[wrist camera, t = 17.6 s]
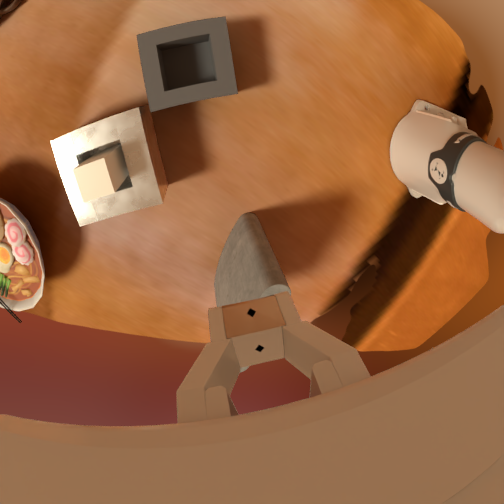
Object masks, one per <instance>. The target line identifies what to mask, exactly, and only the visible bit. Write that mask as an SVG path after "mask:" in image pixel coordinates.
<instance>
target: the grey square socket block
mask: <svg viewBox="0 0 504 504" xmlns="http://www.w3.org/2000/svg"><path fill="white" fill-rule="evenodd" d="M137 41H138V47H139V54H140V60H141V66H142V71H143V77H144V82H145V87H146V93H147V98H148V103H149V108H150V112H154V111H157V110H161V109H165V108H169V107H173V106H177V105H181V104H186V103H190V102H195V101H200V100H205V99H210V98H215V97H221V96H227V95H233V94H238V92H237V85H236V79H235V73H234V66H233V60H232V54H231V47H230V41H229V35H228V29H227V23H226V17H218V18H211V19H204V20H198V21H193V22H187V23H182V24H178V25H173V26H169V27H165V28H161V29H157V30H153V31H149V32H146V33H142V34H139V35H137Z"/></svg>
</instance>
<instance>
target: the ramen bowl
mask: <svg viewBox="0 0 504 504" xmlns="http://www.w3.org/2000/svg"><path fill="white" fill-rule="evenodd" d="M44 279H45V268H44V263H43V259H42V254H41V250H40V245H39V241H38V239H37V237H36V235H35V233H34V231H33V229H32V227H31V225H30V223H29V221H28V220H27V219H26V218H25V217H24V215H23V214H22V213H21V212H20V211H19V210H18V209H17V208H16V207H15V206H14V205H13V204H11V203H9V202H7V201H6V200H4V199H2V198H0V307H2V308H5V309H6V310H7V311H8V312H9V313H10V314H11V315H12V316H13V317H14V315H15V314H14V313H13V312H12V311H11V310H15V311H23V310H26V309H30V308H33V307H34V306H35V305H36V303H37V302H38V301H39V299H40V298H41V297H42V294H43V286H44ZM8 309H9V310H10V311H11V312H12V313H13V314H14V315H13V314H12V313H11V312H10V311H9V310H8ZM15 316H16V315H15ZM16 317H17V316H16ZM16 317H14V318H15V319H16V320H18V319H19V318H18V317H17V318H18V319H17V318H16ZM19 320H20V319H19ZM19 320H18V322H20V321H21V320H20V321H19ZM21 322H22V321H21ZM21 322H20V323H21Z"/></svg>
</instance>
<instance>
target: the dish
mask: <svg viewBox="0 0 504 504" xmlns="http://www.w3.org/2000/svg"><path fill="white" fill-rule="evenodd" d="M10 1H11V0H0V18H1V17H2V15H3V14H6V13H8V12H10V11H12V10H13V9H15V8H16V7H17V6H18V5H19V4H20V2H21V1H22V0H14V1H13V2H12V4H11V5H9V3H10ZM8 5H9V6H8Z"/></svg>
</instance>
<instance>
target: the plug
mask: <svg viewBox="0 0 504 504" xmlns="http://www.w3.org/2000/svg"><path fill="white" fill-rule="evenodd" d="M73 173H74V176H75V179H76V182H77V185H78V188H79V191H80V194H81V196H82V199H83V202H84V203H85V202H88V201H91V200H94V199H97V198H100V197H103V196H107V195H110V194H113V193H115V192H116V191H117V189H118V188H119V187H120V185H121V184H122V183H123V181H124V180H125V179H126V177H127V176H128V175H129V172H128V168H127V165H126V161H125V158H124V154H123V150H122V146H121V144H119V145H116V146H113V147H110V148H107V149H104V150H102V151H99V152H97V153H95V154H94V155H92V156H91V157H89V158H88V159H86V160H85V161H84V162H82V163H81V164H79V165H78V166H77V167H75V168H74V169H73Z"/></svg>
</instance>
